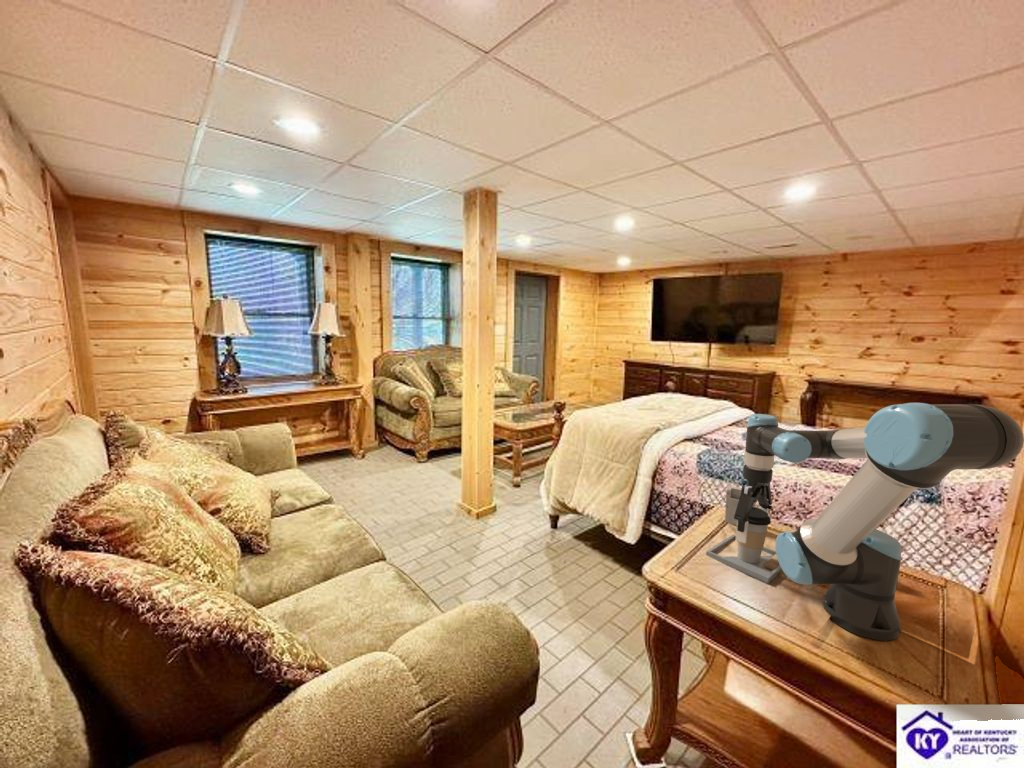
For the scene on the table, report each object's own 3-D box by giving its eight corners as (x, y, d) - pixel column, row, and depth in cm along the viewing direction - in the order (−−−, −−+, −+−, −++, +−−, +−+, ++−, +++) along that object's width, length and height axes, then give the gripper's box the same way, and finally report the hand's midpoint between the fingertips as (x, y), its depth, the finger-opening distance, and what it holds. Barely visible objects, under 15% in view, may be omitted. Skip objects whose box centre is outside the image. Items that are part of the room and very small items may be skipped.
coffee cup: (757, 551, 135) (762, 506, 133) (772, 568, 126) (777, 519, 124) (726, 549, 136) (730, 504, 134) (738, 566, 127) (743, 517, 125)
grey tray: (792, 563, 130) (792, 557, 130) (767, 584, 119) (768, 578, 119) (732, 539, 143) (733, 534, 143) (705, 556, 133) (706, 551, 132)
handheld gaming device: (752, 534, 147) (754, 528, 150) (755, 495, 144) (756, 490, 147) (724, 527, 153) (726, 522, 155) (726, 489, 149) (728, 484, 152)
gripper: (762, 455, 138) (755, 518, 141) (725, 471, 122) (718, 541, 125) (788, 462, 132) (781, 527, 135) (752, 479, 116) (745, 552, 119)
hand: (751, 534), depth 130 cm, fingers open, 13 cm apart
